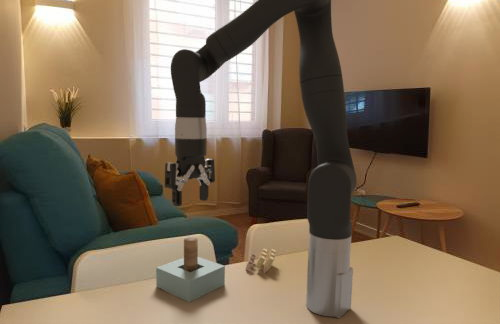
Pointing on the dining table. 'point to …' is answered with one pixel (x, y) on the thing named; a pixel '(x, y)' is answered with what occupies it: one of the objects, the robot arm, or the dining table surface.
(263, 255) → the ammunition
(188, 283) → the socket block
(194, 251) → the peg
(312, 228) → the robot arm
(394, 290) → the dining table surface
